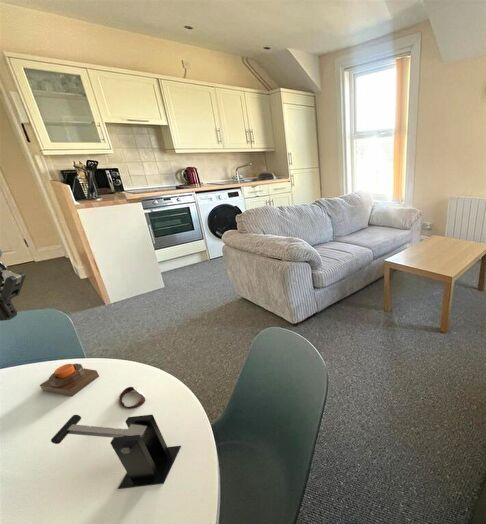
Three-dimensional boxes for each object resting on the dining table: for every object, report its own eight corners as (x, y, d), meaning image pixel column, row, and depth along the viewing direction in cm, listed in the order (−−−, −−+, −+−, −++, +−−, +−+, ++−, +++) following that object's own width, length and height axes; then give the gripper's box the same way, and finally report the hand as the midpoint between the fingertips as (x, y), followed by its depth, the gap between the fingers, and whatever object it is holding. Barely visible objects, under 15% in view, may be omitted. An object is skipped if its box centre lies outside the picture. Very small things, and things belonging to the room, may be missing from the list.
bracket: (120, 492, 52) (94, 449, 47) (142, 453, 58) (121, 413, 54) (165, 486, 53) (144, 444, 48) (182, 449, 59) (165, 408, 54)
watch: (152, 401, 70) (147, 391, 69) (130, 416, 67) (125, 405, 65) (137, 389, 74) (132, 378, 73) (116, 402, 71) (111, 391, 69)
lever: (51, 445, 48) (49, 435, 47) (73, 421, 52) (71, 412, 51) (136, 452, 50) (136, 443, 49) (151, 428, 54) (151, 419, 53)
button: (53, 377, 74) (50, 372, 74) (68, 367, 78) (65, 362, 77) (64, 379, 74) (61, 374, 73) (78, 369, 77) (76, 364, 76)
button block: (43, 391, 75) (35, 380, 74) (71, 371, 81) (65, 361, 80) (72, 396, 73) (65, 385, 71) (99, 376, 79) (93, 365, 78)
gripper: (18, 229, 55) (58, 305, 62) (-56, 234, 54) (-7, 311, 61) (-25, 241, 48) (25, 326, 55) (-111, 247, 48) (-49, 332, 54)
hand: (8, 318), depth 58 cm, fingers closed
